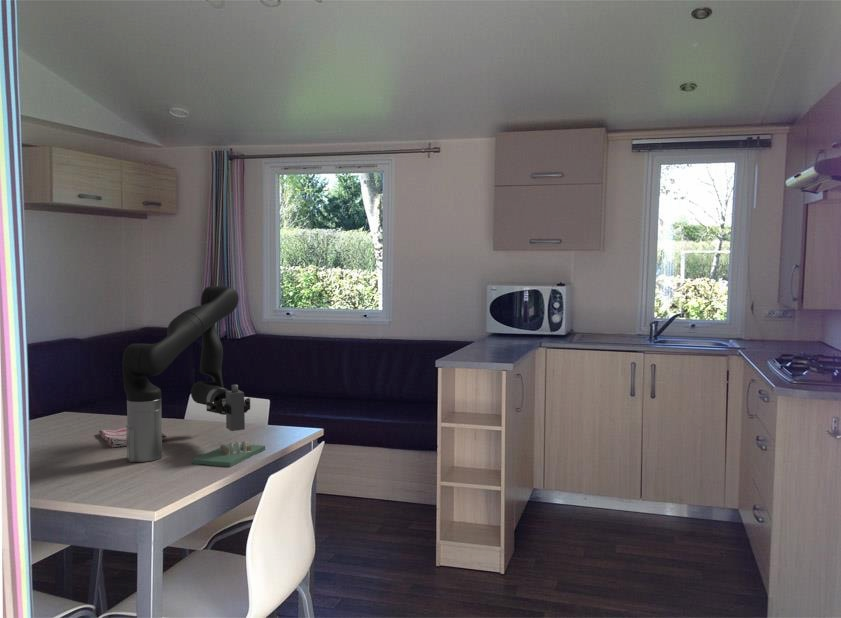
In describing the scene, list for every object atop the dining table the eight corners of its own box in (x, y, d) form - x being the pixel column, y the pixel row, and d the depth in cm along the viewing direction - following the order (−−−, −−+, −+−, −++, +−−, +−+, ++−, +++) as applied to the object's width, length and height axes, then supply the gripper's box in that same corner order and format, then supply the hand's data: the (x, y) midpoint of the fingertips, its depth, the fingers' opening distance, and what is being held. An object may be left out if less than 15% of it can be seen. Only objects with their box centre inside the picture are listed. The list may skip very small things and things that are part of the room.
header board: (230, 466, 192) (230, 451, 192) (192, 463, 195) (192, 448, 195) (265, 449, 211) (265, 436, 211) (230, 447, 214) (229, 433, 214)
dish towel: (110, 450, 213) (110, 439, 212) (97, 435, 232) (97, 425, 232) (168, 443, 222) (167, 432, 222) (151, 429, 241) (151, 419, 241)
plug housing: (231, 431, 203) (230, 387, 202) (226, 427, 207) (225, 384, 206) (244, 429, 205) (244, 385, 204) (239, 426, 209) (238, 383, 208)
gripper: (198, 390, 214) (213, 399, 199) (243, 386, 221) (261, 394, 207) (198, 414, 214) (213, 425, 200) (244, 409, 222) (261, 419, 207)
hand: (238, 409), depth 203 cm, fingers closed on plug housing, 4 cm apart
